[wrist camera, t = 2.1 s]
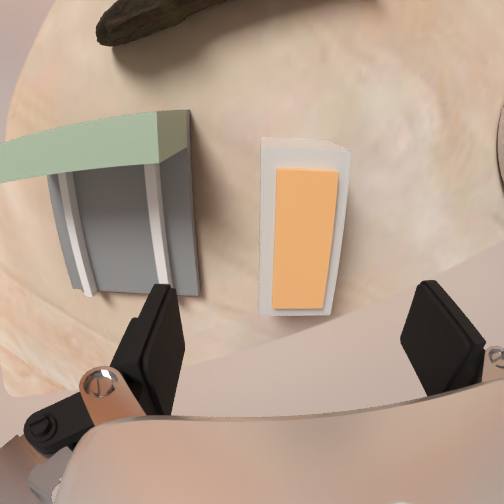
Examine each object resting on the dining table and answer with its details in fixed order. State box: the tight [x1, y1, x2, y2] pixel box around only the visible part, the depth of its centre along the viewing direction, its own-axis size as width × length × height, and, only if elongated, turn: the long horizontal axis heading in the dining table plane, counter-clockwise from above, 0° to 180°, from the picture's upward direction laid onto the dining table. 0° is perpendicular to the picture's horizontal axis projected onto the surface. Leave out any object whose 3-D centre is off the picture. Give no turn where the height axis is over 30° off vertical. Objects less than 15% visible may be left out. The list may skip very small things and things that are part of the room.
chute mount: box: [0, 110, 200, 297], centre depth 19 cm, size 12×14×7 cm
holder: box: [259, 137, 351, 316], centre depth 19 cm, size 4×10×7 cm, turn 0°
